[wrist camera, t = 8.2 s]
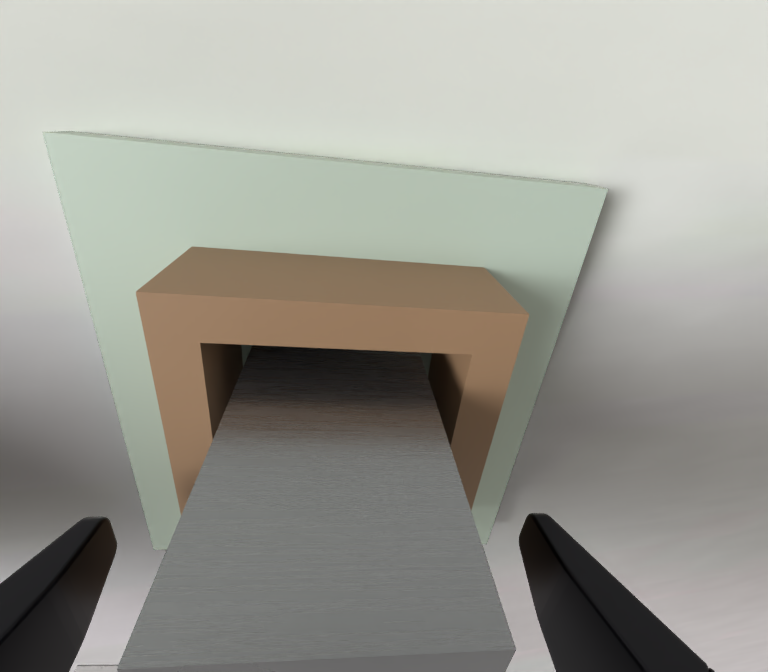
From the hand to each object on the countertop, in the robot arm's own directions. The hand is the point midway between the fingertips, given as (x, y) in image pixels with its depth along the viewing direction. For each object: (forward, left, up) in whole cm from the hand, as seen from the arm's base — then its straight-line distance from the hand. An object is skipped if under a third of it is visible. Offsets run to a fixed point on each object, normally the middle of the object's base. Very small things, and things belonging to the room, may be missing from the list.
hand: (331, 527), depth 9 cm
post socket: (0, 0, -5) cm, 5 cm away
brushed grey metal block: (0, 0, -4) cm, 4 cm away
